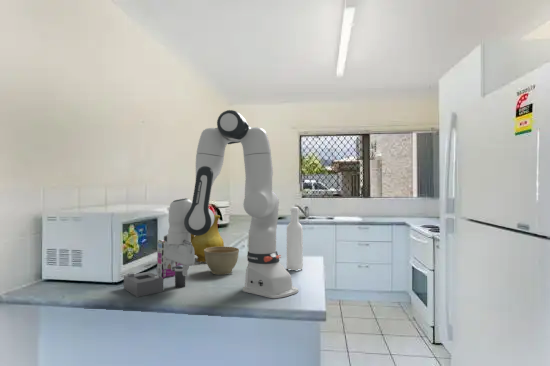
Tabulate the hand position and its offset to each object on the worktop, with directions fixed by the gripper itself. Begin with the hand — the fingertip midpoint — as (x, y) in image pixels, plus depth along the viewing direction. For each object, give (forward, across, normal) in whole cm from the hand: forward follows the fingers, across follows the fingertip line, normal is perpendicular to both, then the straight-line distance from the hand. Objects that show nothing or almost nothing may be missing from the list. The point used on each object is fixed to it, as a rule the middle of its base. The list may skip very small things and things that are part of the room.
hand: (178, 273), depth 144 cm
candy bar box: (+6, +18, -5) cm, 20 cm away
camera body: (+6, +4, +13) cm, 14 cm away
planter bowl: (+5, +8, -25) cm, 27 cm away
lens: (+5, -1, 0) cm, 5 cm away
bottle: (+5, -10, -55) cm, 57 cm away
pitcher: (+6, +38, -35) cm, 52 cm away
